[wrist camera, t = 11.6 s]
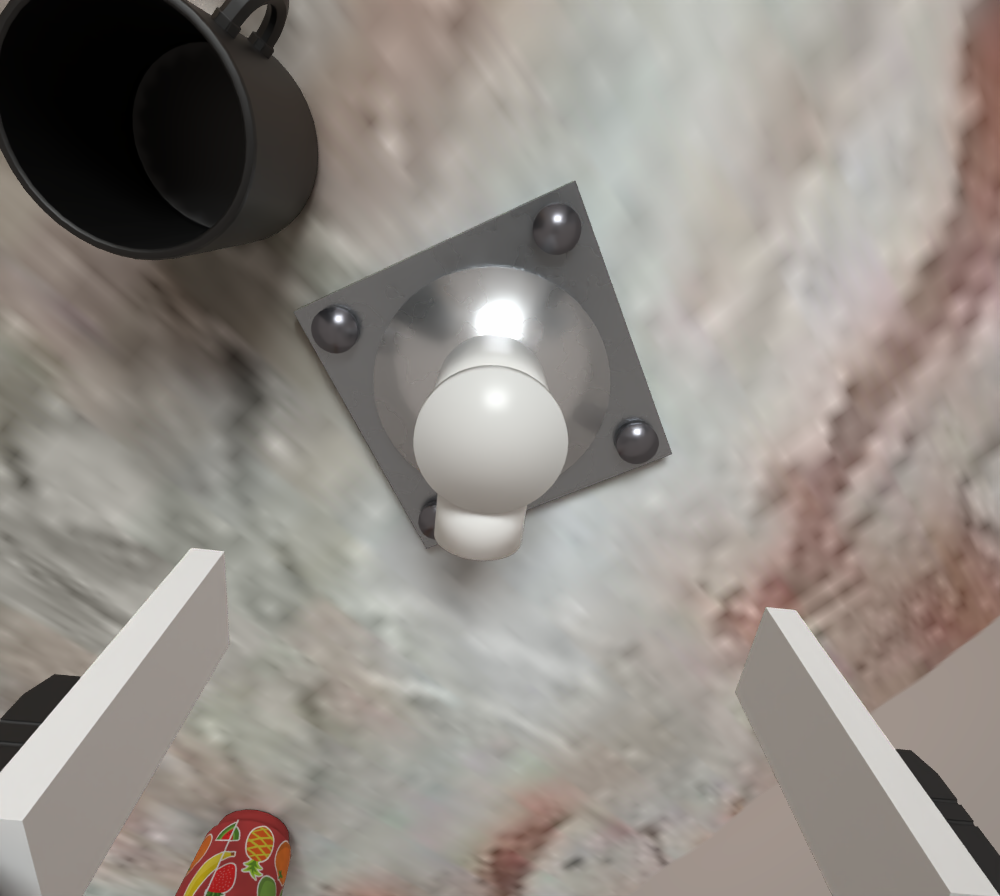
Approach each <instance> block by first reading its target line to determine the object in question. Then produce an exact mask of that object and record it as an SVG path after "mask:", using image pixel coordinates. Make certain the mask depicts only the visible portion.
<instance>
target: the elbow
mask: <svg viewBox="0 0 1000 896" xmlns="http://www.w3.org/2000/svg"><path fill="white" fill-rule="evenodd" d="M413 447H414V453H415V458H416V461H417V465H418V467H419V469H420V472H421V474H422V475H423V477H424V478H425V480H426V482H427V483H428V484H429V485H430V486H431V488H432V489H433V490H434V491H435V492H436V493H438V494H437V506H436V518H435V529H434V536H435V539H436V541H437V543H438V544H439V545H440V546H441V547H442V548H443V549H445V550H446V551H448V552H450V553H452V554H454V555H456V556H459V557H462V558H466V559H471V560H482V561H487V560H497V559H502V558H505V557H508V556H510V555H512V554H514V553H515V552H516V551H517V550H518V549H519V548H520V546H521V542H522V535H523V529H524V522H525V515H526V509H527V505H528V504H530V503H532V502H533V501H535V500H537V499H538V498H539V497H541V496H542V495H543V494H544V493H545V492H546V491H547V490H548V489H549V488H550V487H551V486H552V485H553V484H554V482H555V481H556V480H557V478H558V476H559V475H560V473H561V471H562V469H563V466H564V464H565V460H566V456H567V451H568V433H567V427H566V423H565V420H564V417H563V414H562V411H561V409H560V407H559V405H558V403H557V401H556V399H555V398H554V396H553V395H552V394H551V392H550V391H549V388H548V385H547V381H546V377H545V374H544V371H543V368H542V366H541V364H540V362H539V360H538V359H537V357H536V356H535V354H534V353H533V352H532V351H531V350H530V349H529V348H528V347H526V346H525V345H524V344H522V343H521V342H519V341H517V340H515V339H513V338H510V337H507V336H502V335H494V334H488V335H480V336H476V337H473V338H470V339H468V340H466V341H464V342H462V343H461V344H459V345H458V346H456V347H455V348H454V349H453V350H452V351H451V352H450V353H449V355H448V356H447V357H446V359H445V360H444V362H443V364H442V366H441V368H440V371H439V374H438V377H437V381H436V384H435V387H434V390H433V391H432V392H431V393H430V394H429V396H428V397H427V399H426V400H425V402H424V403H423V406H422V408H421V410H420V412H419V415H418V418H417V422H416V425H415V430H414V437H413Z"/></svg>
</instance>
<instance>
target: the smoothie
mask: <svg viewBox="0 0 1000 896" xmlns="http://www.w3.org/2000/svg"><path fill="white" fill-rule="evenodd" d="M290 858H291V847H290V845H289V833H288V830H287V828H286V827H285V825H284V824H283V823H282V822H281V821H280V820H279V819H278V818H276V817H274V816H272V815H270V814H268V813H265V812H261V811H258V810H241V811H235V812H233V813H231V814H228V815H226V816H225V817H224V818H223V819H222V820H221V821H220V823H219V824H218V825H217V826H215V827H213V828H212V829H211V830H210V831H209V832H208V833H207V835H206V837H205V839H204V841H203V843H202V845H201V847H200V849H199V851H198V852H197V854H196V856H195V858H194V860H193V862H192V864H191V866H190V868H189V870H188V872H187V874H186V876H185V878H184V880H183V882H182V883H181V885H180V887H179V889H178V891H177V893H176V895H175V896H281V895H282V891H283V887H284V883H285V879H286V875H287V871H288V867H289V862H290Z"/></svg>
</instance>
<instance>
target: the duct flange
mask: <svg viewBox="0 0 1000 896" xmlns="http://www.w3.org/2000/svg"><path fill="white" fill-rule="evenodd" d="M294 314H295V316H296V318H297V319H298V321H299V323H300V325H301V326H302V328H303V330H304V332H305V334H306V335H307V337H308V339H309V341H310V342H311V344H312V346H313V348H314V350H315V351H316V353H317V355H318V357H319V358H320V360H321V362H322V364H323V366H324V367H325V369H326V371H327V373H328V374H329V376H330V378H331V380H332V382H333V383H334V385H335V387H336V389H337V390H338V392H339V394H340V396H341V397H342V399H343V401H344V403H345V405H346V406H347V408H348V410H349V412H350V413H351V415H352V417H353V419H354V421H355V422H356V424H357V426H358V428H359V429H360V431H361V433H362V435H363V437H364V438H365V440H366V442H367V444H368V445H369V447H370V449H371V451H372V453H373V454H374V456H375V458H376V460H377V461H378V463H379V465H380V467H381V469H382V470H383V472H384V474H385V476H386V477H387V479H388V481H389V483H390V485H391V486H392V488H393V490H394V492H395V493H396V495H397V497H398V499H399V501H400V502H401V504H402V506H403V508H404V509H405V511H406V513H407V515H408V517H409V518H410V520H411V522H412V524H413V525H414V527H415V529H416V531H417V533H418V534H419V536H420V538H421V540H422V541H423V543H424V545H425V547H426V548H429V547H432V546H435V545H437V544H438V543H437V541H436V539H435V536H434V529H435V518H436V506H437V494H438V493H436V492H435V491H434V490H433V489H432V488H431V486H430V485H429V484H428V483H427V482H426V480H425V478H424V477H423V475H422V474H421V472H420V469H419V467H418V465H417V461H416V458H415V453H414V447H413V437H414V430H415V425H416V422H417V418H418V415H419V412H420V410H421V408H422V406H423V403H424V402H425V400H426V399H427V397H428V396H429V394H430V393H431V392H432V391H433V390H434V387H435V384H436V381H437V377H438V374H439V371H440V368H441V366H442V364H443V362H444V360H445V359H446V357H447V356H448V355H449V353H450V352H451V351H452V350H453V349H454V348H455V347H456V346H458V345H459V344H461V343H462V342H464V341H466V340H468V339H470V338H473V337H476V336H480V335H488V334H494V335H502V336H507V337H510V338H513V339H515V340H517V341H519V342H521V343H522V344H524V345H525V346H526V347H528V348H529V349H530V350H531V351H532V352H533V353H534V354H535V356H536V357H537V359H538V360H539V362H540V364H541V366H542V368H543V371H544V374H545V377H546V381H547V385H548V388H549V391H550V392H551V394H552V395H553V396H554V398H555V399H556V401H557V403H558V405H559V407H560V409H561V411H562V414H563V417H564V420H565V423H566V427H567V433H568V451H567V456H566V460H565V464H564V466H563V469H562V471H561V473H560V475H559V476H558V478H557V480H556V481H555V482H554V484H553V485H552V486H551V487H550V488H549V489H548V490H547V491H546V492H545V493H544V494H543V495H542V496H541V497H539V498H538V499H537V500H535V501H533V502H532V503H530V504H528V505H527V509H526V510H528V509H531V508H533V507H536V506H538V505H541V504H544V503H546V502H549V501H551V500H554V499H557V498H559V497H562V496H564V495H567V494H570V493H572V492H575V491H577V490H580V489H583V488H585V487H588V486H590V485H593V484H596V483H598V482H601V481H603V480H606V479H609V478H611V477H614V476H616V475H619V474H622V473H624V472H627V471H629V470H632V469H635V468H637V467H640V466H642V465H645V464H647V463H650V462H653V461H655V460H658V459H660V458H663V457H666V456H668V455H671V454H672V452H671V450H670V447H669V444H668V441H667V438H666V435H665V433H664V430H663V427H662V424H661V421H660V419H659V416H658V413H657V410H656V407H655V404H654V402H653V399H652V396H651V393H650V390H649V387H648V385H647V382H646V379H645V376H644V373H643V370H642V368H641V365H640V362H639V359H638V356H637V354H636V351H635V348H634V345H633V342H632V339H631V337H630V334H629V331H628V328H627V325H626V322H625V320H624V317H623V314H622V311H621V308H620V305H619V303H618V300H617V297H616V294H615V291H614V288H613V286H612V283H611V280H610V277H609V274H608V272H607V269H606V266H605V263H604V260H603V257H602V255H601V252H600V249H599V246H598V243H597V240H596V238H595V235H594V232H593V229H592V226H591V223H590V221H589V218H588V215H587V212H586V209H585V206H584V204H583V201H582V198H581V195H580V192H579V190H578V187H577V184H576V181H572V182H570V183H568V184H566V185H563V186H561V187H559V188H557V189H555V190H553V191H550V192H548V193H546V194H544V195H542V196H540V197H538V198H535V199H533V200H531V201H529V202H527V203H525V204H523V205H520V206H518V207H516V208H514V209H512V210H510V211H507V212H505V213H503V214H501V215H499V216H497V217H495V218H492V219H490V220H488V221H486V222H484V223H482V224H480V225H477V226H475V227H473V228H471V229H469V230H467V231H465V232H462V233H460V234H458V235H456V236H454V237H452V238H449V239H447V240H445V241H443V242H441V243H439V244H437V245H434V246H432V247H430V248H428V249H426V250H424V251H422V252H419V253H417V254H415V255H413V256H411V257H409V258H406V259H404V260H402V261H400V262H398V263H396V264H394V265H391V266H389V267H387V268H385V269H383V270H381V271H379V272H376V273H374V274H372V275H370V276H368V277H366V278H363V279H361V280H359V281H357V282H355V283H353V284H351V285H348V286H346V287H344V288H342V289H340V290H338V291H336V292H333V293H331V294H329V295H327V296H325V297H323V298H320V299H318V300H316V301H314V302H312V303H310V304H308V305H305V306H303V307H301V308H299V309H297V310H296V311H294Z"/></svg>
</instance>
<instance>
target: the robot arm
mask: <svg viewBox="0 0 1000 896" xmlns="http://www.w3.org/2000/svg"><path fill="white" fill-rule="evenodd" d="M229 645H230V641H229V623H228V605H227V588H226V570H225V552H224V551H216V550H206V549H196V548H191V549H190V550H189V551H188V552H187V553H186V555H185V556H184V557H183V558H182V559H181V561H180V562H179V563H178V564H177V565H176V566H175V568H174V569H173V570H172V571H171V572H170V573H169V575H168V576H167V577H166V578H165V579H164V581H163V582H162V583H161V584H160V585H159V586H158V588H157V589H156V590H155V591H154V592H153V593H152V595H151V596H150V597H149V598H148V599H147V600H146V602H145V603H144V604H143V605H142V606H141V608H140V609H139V610H138V611H137V612H136V613H135V615H134V616H133V617H132V618H131V619H130V620H129V622H128V623H127V624H126V625H125V626H124V628H123V629H122V630H121V631H120V632H119V633H118V635H117V636H116V637H115V638H114V639H113V640H112V642H111V643H110V644H109V645H108V646H107V648H106V649H105V650H104V651H103V652H102V653H101V655H100V656H99V657H98V658H97V659H96V660H95V662H94V663H93V664H92V665H91V666H90V667H89V669H88V670H87V671H86V672H85V673H84V675H83V676H82V677H79V676H68V675H57V674H54V675H53V676H51V677H49V678H48V679H46V680H45V681H43V682H42V683H40V684H39V685H37V686H35V687H34V688H32V689H31V690H29V691H28V692H26V693H25V694H23V695H22V696H21V697H20V698H19V700H18V701H17V702H16V703H15V704H14V705H13V706H12V707H11V708H10V709H9V710H8V711H7V712H6V713H5V714H4V716H3V717H2V718H1V720H0V896H82V895H83V894H84V892H85V890H86V889H87V887H88V885H89V884H90V882H91V880H92V878H93V877H94V875H95V873H96V872H97V870H98V868H99V866H100V865H101V863H102V861H103V860H104V858H105V856H106V855H107V853H108V851H109V849H110V848H111V846H112V844H113V843H114V841H115V839H116V837H117V836H118V834H119V832H120V831H121V829H122V827H123V825H124V824H125V822H126V820H127V819H128V817H129V815H130V814H131V812H132V810H133V808H134V807H135V805H136V803H137V802H138V800H139V798H140V796H141V795H142V793H143V791H144V790H145V788H146V786H147V785H148V783H149V781H150V779H151V778H152V776H153V774H154V773H155V771H156V769H157V767H158V766H159V764H160V762H161V761H162V759H163V757H164V755H165V754H166V752H167V750H168V749H169V747H170V745H171V744H172V742H173V740H174V738H175V737H176V735H177V733H178V732H179V730H180V728H181V726H182V725H183V723H184V721H185V720H186V718H187V716H188V715H189V713H190V711H191V709H192V708H193V706H194V704H195V703H196V701H197V699H198V697H199V696H200V694H201V692H202V691H203V689H204V687H205V685H206V684H207V682H208V680H209V679H210V677H211V675H212V674H213V672H214V670H215V668H216V667H217V665H218V663H219V662H220V660H221V658H222V656H223V655H224V653H225V651H226V650H227V648H228V646H229ZM735 693H736V695H737V697H738V699H739V701H740V703H741V705H742V708H743V710H744V712H745V714H746V716H747V718H748V720H749V722H750V724H751V726H752V729H753V731H754V733H755V735H756V737H757V739H758V741H759V743H760V745H761V747H762V750H763V752H764V754H765V756H766V758H767V760H768V762H769V764H770V766H771V768H772V770H773V773H774V775H775V777H776V779H777V781H778V783H779V785H780V787H781V789H782V791H783V794H784V796H785V798H786V800H787V802H788V804H789V806H790V808H791V810H792V812H793V815H794V817H795V819H796V821H797V823H798V825H799V827H800V829H801V831H802V833H803V836H804V837H805V840H806V842H807V844H808V846H809V848H810V850H811V852H812V854H813V856H814V859H815V861H816V863H817V865H818V867H819V869H820V871H821V873H822V875H823V878H824V879H825V882H826V884H827V886H828V888H829V890H830V892H831V894H832V896H1000V855H999V854H998V853H997V852H996V850H995V849H994V847H993V846H992V845H991V844H990V842H989V841H988V840H987V838H986V837H985V836H984V834H983V833H982V832H981V830H980V829H979V828H978V827H976V826H974V824H973V820H972V818H971V817H970V816H969V815H968V813H967V812H966V811H965V809H964V808H963V807H962V805H958V803H957V799H956V797H955V796H954V795H953V793H952V792H951V791H950V789H949V788H948V787H947V785H946V784H945V783H944V782H943V780H942V779H941V778H940V776H939V775H938V774H937V773H936V772H935V771H934V770H933V769H932V768H931V767H929V766H928V765H927V764H926V763H925V762H924V761H922V760H921V759H920V758H919V757H918V756H917V755H916V754H915V753H913V752H912V751H911V750H901V749H895V748H894V747H893V746H892V744H891V743H890V741H889V740H888V739H887V737H886V736H885V734H884V733H883V732H882V730H881V729H880V727H879V726H878V725H877V723H876V722H875V720H874V719H873V718H872V716H871V715H870V713H869V712H868V711H867V709H866V708H865V706H864V705H863V704H862V702H861V701H860V699H859V698H858V697H857V695H856V694H855V692H854V691H853V689H852V688H851V687H850V685H849V684H848V682H847V681H846V680H845V678H844V677H843V675H842V674H841V673H840V671H839V670H838V668H837V667H836V666H835V664H834V663H833V661H832V660H831V659H830V657H829V656H828V654H827V653H826V652H825V650H824V649H823V647H822V646H821V645H820V643H819V642H818V640H817V639H816V638H815V636H814V635H813V633H812V632H811V631H810V629H809V628H808V626H807V625H806V624H805V622H804V621H803V619H802V618H801V617H800V615H799V614H798V612H797V611H796V610H789V609H779V608H769V607H766V608H765V611H764V614H763V617H762V619H761V622H760V625H759V628H758V630H757V633H756V636H755V639H754V641H753V644H752V647H751V650H750V652H749V655H748V658H747V661H746V663H745V666H744V669H743V672H742V675H741V677H740V680H739V683H738V686H737V688H736V691H735Z"/></svg>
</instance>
